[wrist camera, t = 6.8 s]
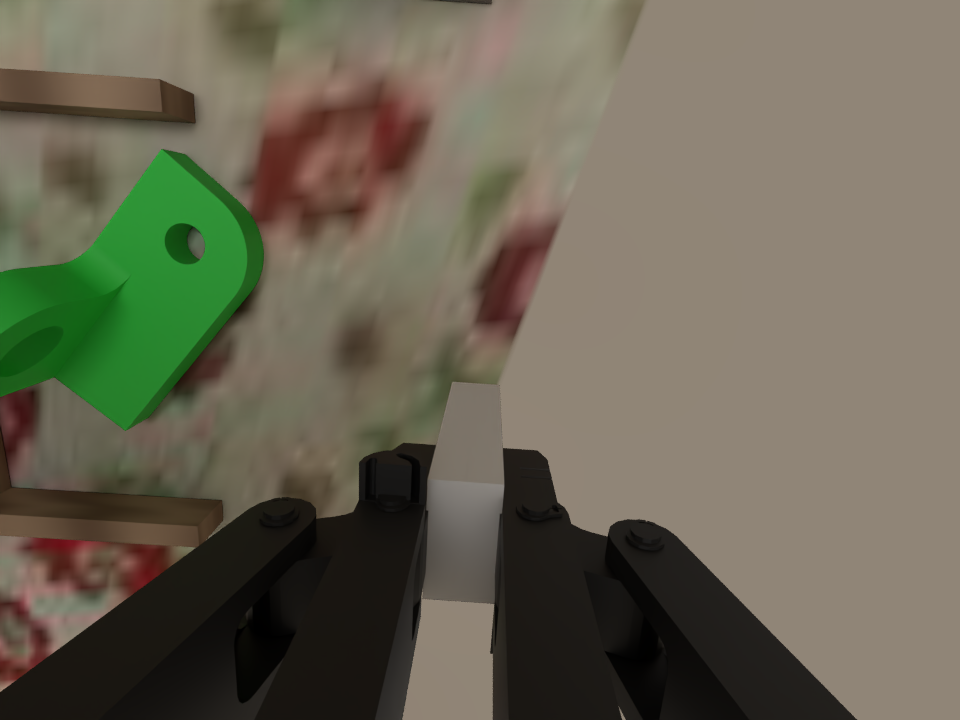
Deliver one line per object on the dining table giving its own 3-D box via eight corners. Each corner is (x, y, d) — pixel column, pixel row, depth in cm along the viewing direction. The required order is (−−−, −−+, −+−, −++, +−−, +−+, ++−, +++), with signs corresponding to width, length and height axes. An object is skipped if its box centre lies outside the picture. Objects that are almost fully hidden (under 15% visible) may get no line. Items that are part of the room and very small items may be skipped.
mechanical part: (150, 416, 28) (20, 492, 20) (51, 339, 27) (-127, 388, 19) (290, 245, 25) (203, 256, 17) (187, 154, 24) (47, 123, 16)
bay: (-8, 505, 29) (-63, 538, 26) (-92, 74, 23) (-175, 53, 20) (223, 520, 29) (193, 553, 26) (193, 94, 23) (151, 76, 20)
